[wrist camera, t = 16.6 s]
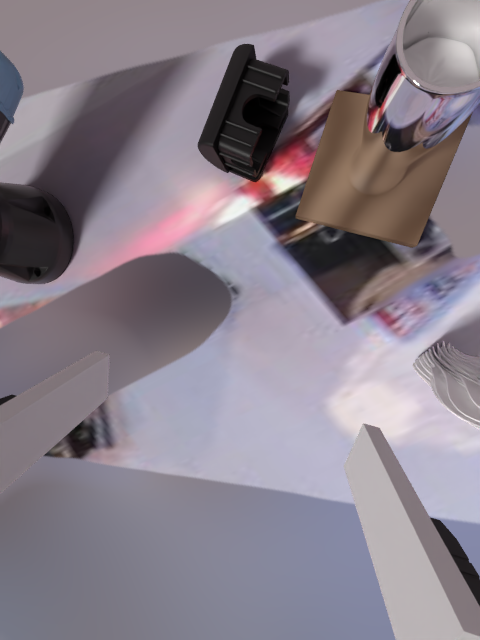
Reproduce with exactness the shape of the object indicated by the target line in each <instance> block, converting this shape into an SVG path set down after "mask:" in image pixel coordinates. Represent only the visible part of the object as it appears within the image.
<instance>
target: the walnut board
mask: <svg viewBox="0 0 480 640" xmlns="http://www.w3.org/2000/svg"><path fill="white" fill-rule="evenodd" d="M368 99H369V95H367V94H360V93H353V92H347V91H340V90H337V91H336V94H335V97H334V100H333V103H332V106H331V109H330V112H329V116H328V119H327V122H326V125H325V128H324V131H323V134H322V137H321V140H320V143H319V146H318V149H317V152H316V155H315V158H314V161H313V164H312V167H311V171H310V174H309V177H308V180H307V183H306V186H305V189H304V192H303V195H302V198H301V201H300V204H299V207H298V210H297V213H296V218H297V219H301V220H305V221H308V222H312V223H316V224H320V225H324V226H328V227H332V228H336V229H340V230H344V231H348V232H352V233H356V234H360V235H364V236H368V237H372V238H376V239H380V240H384V241H388V242H392V243H396V244H400V245H404V246H408V247H415V246H417V244H418V242H419V240H420V237H421V235H422V232H423V230H424V228H425V225H426V223H427V220H428V218H429V216H430V213H431V211H432V208H433V206H434V204H435V201H436V199H437V196H438V194H439V191H440V189H441V187H442V184H443V182H444V180H445V177H446V175H447V172H448V170H449V168H450V165H451V163H452V161H453V158H454V156H455V153H456V151H457V148H458V146H459V144H460V141H461V139H462V136H463V134H464V132H465V129H466V127H467V125H468V122H469V120H470V117H471V115H472V113H473V112H472V113H471V114H470V115H469V117H468V118H467V119H466V120H465V121H464V122H463V123H462V124H461V125H460V126H459V127H458V128H457V129H455V130H454V131H453V132H452V133H451V134H450V135H449V136H448V137H447V138H446V139H444V140H443V141H442V142H441V143H439V144H438V145H437V146H436V147H434V148H433V149H432V150H430V151H429V152H427V153H426V154H424V155H423V156H422V157H420V158H419V159H417V160H416V161H414V162H413V163H412V164H410V165H409V167H408V169H407V172H406V174H405V175H404V177H403V179H402V180H401V181H400V182H399V184H398V185H396V186H395V187H394V188H393V189H391V190H390V191H388V192H386V193H383V194H380V195H365V194H362V193H360V192H358V191H357V190H356V189H355V188H354V187H353V186H352V185H351V183H350V181H349V178H348V165H349V161H350V159H351V157H352V155H353V153H354V152H355V150H356V149H357V148H358V146H359V145H360V144H361V141H362V133H363V125H364V118H365V113H366V108H367V103H368Z"/></svg>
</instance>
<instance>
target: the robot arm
mask: <svg viewBox="0 0 480 640" xmlns="http://www.w3.org/2000/svg"><path fill="white" fill-rule="evenodd" d="M23 90H24V88H23V81H22V79H21V76H20V74H19V72H18V70H17V69H16V67H15V66H14V65H13V63H12V62H11V61H10V60H9V59H8V58H7V57H6V56H5V55H4V54H3V53H2V52H1V51H0V143H1V141H2V139H3V137H4V135H5V133H6V132H7V130H8V128H9V126H10V124H11V123H12V124H13V123H14V117H13V116H14V114H15V111H16V109H17V107H18V104H19V102H20V99H21V97H22V95H23ZM72 249H73V231H72V226H71V222H70V219H69V216H68V214H67V212H66V210H65V209H64V207H63V206H62V204H61V203H60V202H59V201H58V200H57V199H56V198H55V197H53V196H52V195H50V194H49V193H46V192H44V191H42V190H39V189H37V188H34V187H31V186H27V185H21V184H10V183H0V276H1V277H4V278H7V279H10V280H13V281H16V282H20V283H27V284H45V283H48V282H51V281H53V280H55V279H56V278H57V277H58V276H60V275H61V274H62V272H63V271H64V270H65V268H66V267H67V265H68V263H69V260H70V257H71V254H72ZM108 378H109V354H106V353H102V352H99V351H95V352H93V353H91V354H89V355H88V356H86V357H84V358H82V359H81V360H79V361H77V362H75V363H74V364H72V365H70V366H68V367H67V368H65V369H63V370H62V371H60V372H58V373H56V374H55V375H53V376H51V377H49V378H47V379H46V380H44V381H42V382H40V383H39V384H37V385H35V386H34V387H32V388H30V389H28V390H27V391H25V392H23V393H21V394H19V395H18V396H15V395H10V396H7V397H4V398H1V399H0V494H1V492H3V491H4V490H5V489H6V488H7V487H8V486H9V485H11V484H12V483H13V482H14V481H15V480H16V479H17V478H19V477H20V476H21V475H22V474H23V473H24V472H25V471H26V470H28V469H29V468H30V467H31V466H32V465H33V464H34V463H35V462H36V461H38V460H39V459H40V458H41V457H42V456H43V455H44V454H46V453H47V452H48V451H49V450H50V449H51V448H52V447H53V446H55V445H56V444H57V443H58V442H59V441H60V440H61V439H62V438H63V437H65V436H66V435H67V434H68V433H69V432H70V431H71V430H72V429H74V428H75V427H76V426H77V425H78V424H79V423H80V422H81V421H83V420H84V419H85V418H86V417H87V416H88V415H89V414H90V413H92V412H93V411H94V410H95V409H96V408H97V407H98V406H99V405H101V404H102V403H103V402H104V401H105V400H106V399H107V398H108ZM344 469H345V472H346V475H347V479H348V482H349V485H350V489H351V492H352V495H353V499H354V502H355V505H356V508H357V512H358V515H359V519H360V522H361V525H362V529H363V532H364V535H365V539H366V542H367V545H368V548H369V552H370V555H371V558H372V562H373V565H374V568H375V572H376V575H377V578H378V582H379V585H380V588H381V592H382V595H383V598H384V602H385V605H386V608H387V611H388V615H389V618H390V621H391V625H392V628H393V632H394V635H395V638H396V640H480V579H479V575H478V573H477V572H476V570H475V569H474V567H473V565H472V564H471V563H469V559H468V557H467V555H466V554H465V552H464V551H463V549H462V547H461V546H460V544H459V542H458V541H457V539H456V538H455V537H454V536H453V534H452V533H451V532H450V531H449V530H448V529H447V528H446V526H445V525H444V524H443V523H442V522H441V521H440V520H437V519H434V518H430V517H429V515H428V514H427V512H426V510H425V508H424V506H423V505H422V503H421V501H420V499H419V498H418V496H417V494H416V492H415V490H414V489H413V487H412V485H411V483H410V481H409V480H408V478H407V476H406V474H405V473H404V471H403V469H402V467H401V465H400V464H399V462H398V460H397V458H396V457H395V455H394V453H393V451H392V449H391V448H390V446H389V444H388V442H387V441H386V439H385V437H384V435H383V433H382V432H381V430H380V428H378V427H374V426H371V425H367V424H363V425H362V427H361V430H360V432H359V434H358V436H357V438H356V440H355V443H354V445H353V447H352V449H351V451H350V454H349V456H348V458H347V460H346V462H345V464H344Z"/></svg>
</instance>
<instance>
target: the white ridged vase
mask: <svg viewBox="0 0 480 640" xmlns="http://www.w3.org/2000/svg"><path fill="white" fill-rule="evenodd" d="M432 348H433V351H434V354H435V356H436V358H437V359H438V360H439V361H440V362H441V363H442V364H443V365H444V366H446V367H447V368H448V369H447V368H446V367H444V366H443V365H442V364H440V363H439V362H438V361H437V359H436V358H435V356H434V354H433V352H432V351H431V349H429V352H427V351H426V352H425V354H422V356H420V357H419V359H416V360H415V363H413V368H414V370H415V371H416V373H417V374H418V375H419V376H420V377H421V378H422V379H423V380H424V381H425V382H426V383H427V384H428V385H429V386H430V387H431V389H432V391H433V393H434V395H435V396H436V398H437V399H438V400H439V402H440V403H441V404H442V405H443V406H444V407H445V408H447V409H448V410H449V411H450V412H451V413H453V414H454V415H456V416H457V417H459V418H460V419H462V420H463V421H465V422H467V423H468V424H470V425H472V426H474V427H476V428H477V429H479V430H480V357H475V356H470V355H467V354H464V353H462V352H461V351H460V352H459V350H458V349H455V348H454V346H452V347H451V348H450V343H448V344H447V346H446V347H445V341H444V340H443V343H442V347H441V349H440V347H439V343H437V353H436V352H435V348H434V346H432ZM447 350H448V351H447ZM452 351H453V352H452ZM441 366H442V367H443V368H442V367H441ZM445 369H446V370H445Z"/></svg>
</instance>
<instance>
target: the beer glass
mask: <svg viewBox="0 0 480 640" xmlns="http://www.w3.org/2000/svg"><path fill="white" fill-rule="evenodd" d="M479 104H480V0H410V1H409V3H408V5H407V6H406V8H405V10H404V12H403V14H402V17H401V20H400V22H399V25H398V27H397V30H396V32H395V34H394V36H393V38H392V40H391V42H390V45H389V47H388V49H387V51H386V54H385V56H384V58H383V60H382V63H381V65H380V68H379V70H378V73H377V75H376V78H375V80H374V83H373V86H372V89H371V92H370V95H369V99H368V103H367V108H366V113H365V118H364V125H363V133H362V141H361V144H360V145H359V146H358V148H357V149H356V150H355V152H354V153H353V155H352V157H351V159H350V161H349V165H348V178H349V181H350V183H351V185H352V186H353V187H354V188H355V189H356V190H357V191H358V192H360V193H362V194H365V195H380V194H383V193H386V192H388V191H390V190H391V189H393V188H394V187H395V186H396V185H398V184H399V182H400V181H401V180H402V179H403V177H404V175H405V174H406V172H407V169H408V167H409V165H410V164H412V163H413V162H414V161H416V160H417V159H419V158H420V157H422V156H423V155H424V154H426V153H427V152H429V151H430V150H432V149H433V148H434V147H436V146H437V145H438V144H439V143H441V142H442V141H443V140H444V139H446V138H447V137H448V136H449V135H450V134H451V133H452V132H453V131H454V130H455V129H457V128H458V127H459V126H460V125H461V124H462V123H463V122H464V121H465V120H466V119H467V118H468V117H469V115H470V114H471V113H472V112H473V111H474V110H475V109H476V108H477V107H478V105H479Z"/></svg>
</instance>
